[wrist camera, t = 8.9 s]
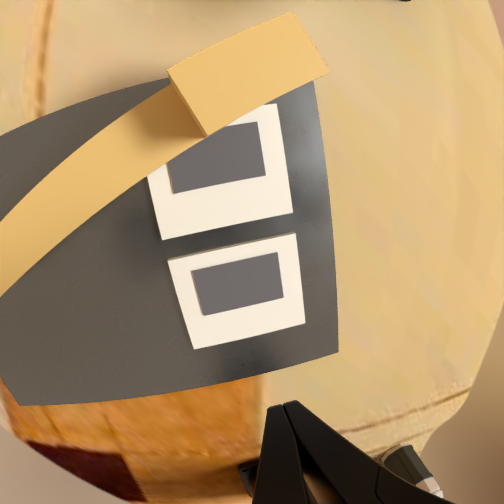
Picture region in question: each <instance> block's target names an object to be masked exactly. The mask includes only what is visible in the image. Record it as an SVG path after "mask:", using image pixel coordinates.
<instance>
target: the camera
mask: <svg viewBox="0 0 504 504" xmlns="http://www.w3.org/2000/svg"><path fill="white" fill-rule="evenodd" d="M381 459H382V463H383V466H384V467H385V468H387V469H388V470H390V471H391V472H393V473H394V474H396V475H397V476H399V477H400V478H402V479H404V480H405V481H407V482H409V483H411V484H413V485H415V486H417V487H419V488H421V489H423V490H425V491H427V492H429V493H432V494H434V495H436V496H438V497H441V498H443V495H444V493H443V492H442V491H441V490H440V487H439V486H438V484H437V483H436V482H435V480H434V478H433V475H432V474H431V473H429V471H428V470H427V468H426V467H425V466H424V464H423V462H422V461H421V459H420V458H419V457H418V455H417V454H416V452H415V451H414V449H413V446H412V445H410V444H409V442H408V443H402V444H399V445H397V446H395V447H394V448H392V449H390V450H389V451H387V452H386V453H385V455H384V456H383V457H382V458H381ZM439 490H440V491H439Z"/></svg>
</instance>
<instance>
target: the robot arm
mask: <svg viewBox="0 0 504 504" xmlns="http://www.w3.org/2000/svg"><path fill="white" fill-rule="evenodd" d="M238 471H239V474H240V476H241V478H242V481H243V483H244V485H245V487H246V489H247V492H248V494H249V496H250V497H252V499H253V500H252V504H455V503H452V502H450V501H448V500H445V499H443V498H441V497H438V496H436V495H434V494H432V493H429V492H427V491H425V490H423V489H421V488H419V487H417V486H415V485H413V484H411V483H409V482H407V481H405V480H404V479H402V478H400V477H399V476H397V475H396V474H394V473H393V472H391V471H390V470H388V469H387V468H385V467H384V466H382V465H381V466H380V464H379V463H378V462H377V461H375V460H374V459H372V458H371V457H370V456H368V455H367V454H366V453H364V452H363V451H361V450H360V449H359V448H357V447H356V446H355V445H353V444H352V443H351V442H349V441H348V440H347V439H345V438H344V437H343V436H341V435H340V434H339V433H337V432H336V431H335V430H334V429H332V428H331V427H330V426H328V425H327V424H326V423H325V422H323V421H322V420H321V419H320V418H318V417H317V416H316V415H315V414H313V413H312V412H311V411H310V410H308V409H307V408H306V407H305V406H303V405H302V404H301V403H300V402H298V401H297V400H293V401H290V402H286V403H284V404H283V406H282V405H281V404H279V405H275V406H271V407H269V408H268V409H267V415H266V422H265V428H264V435H263V441H262V447H261V454H260V460H259V461H256V462H251V463H246V464H242V465H240V466H238Z"/></svg>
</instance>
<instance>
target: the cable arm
mask: <svg viewBox="0 0 504 504" xmlns="http://www.w3.org/2000/svg"><path fill="white" fill-rule="evenodd" d="M167 72H168V76H169V79H170V82H171V84H170V85H168V86H167V87H165V88H163V89H162V90H160V91H159V92H157V93H155V94H154V95H152V96H151V97H149V98H148V99H146V100H144V101H143V102H141V103H140V104H138V105H137V106H135V107H134V108H132V109H131V110H129V111H128V112H127V113H125V114H124V115H122V116H121V117H119V118H118V119H117V120H115V121H114V122H112V123H111V124H110V125H108V126H107V127H106V128H104V129H103V130H102V131H100V132H99V133H98V134H96V135H95V136H94V137H92V138H91V139H90V140H89V141H87V142H86V143H85V144H83V145H82V146H81V147H80V148H78V149H77V150H76V151H75V152H74V153H72V154H71V155H70V156H69V157H68V158H66V159H65V160H64V161H63V162H62V163H61V164H59V165H58V166H57V167H56V168H55V169H54V170H53V171H51V172H50V173H49V174H48V175H47V176H46V177H45V178H44V179H43V180H42V181H41V182H39V183H38V184H37V185H36V186H35V187H34V188H33V189H32V190H31V191H30V192H29V193H28V194H27V195H26V196H25V197H24V198H23V199H22V200H21V201H20V202H19V203H18V204H17V205H16V206H15V207H14V208H13V209H12V210H11V211H10V212H9V213H8V214H7V215H6V216H5V217H4V219H3V220H2V221H1V222H0V297H1V296H2V295H3V294H4V293H5V292H6V291H7V290H8V289H9V288H10V287H11V286H12V285H13V284H14V283H15V282H16V281H17V280H18V279H19V278H20V277H22V276H23V275H24V274H25V273H26V272H27V271H28V270H29V269H30V268H31V267H32V266H33V265H35V264H36V263H37V262H38V261H39V260H40V259H41V258H42V257H43V256H45V255H46V254H47V253H48V252H49V251H50V250H52V249H53V248H54V247H55V246H56V245H57V244H59V243H60V242H61V241H62V240H63V239H64V238H66V237H67V236H68V235H69V234H70V233H72V232H73V231H74V230H75V229H77V228H78V227H79V226H80V225H82V224H83V223H84V222H85V221H87V220H88V219H89V218H90V217H92V216H93V215H94V214H96V213H97V212H98V211H99V210H101V209H102V208H103V207H105V206H106V205H107V204H109V203H110V202H111V201H113V200H114V199H115V198H117V197H118V196H119V195H121V194H122V193H124V192H125V191H126V190H128V189H129V188H130V187H132V186H133V185H135V184H136V183H138V182H139V181H140V180H142V179H143V178H145V177H146V176H148V175H149V174H151V173H152V172H153V171H155V170H156V169H158V168H159V167H161V166H162V165H164V164H165V163H167V162H168V161H170V160H172V159H173V158H175V157H176V156H178V155H179V154H181V153H182V152H184V151H186V150H187V149H189V148H190V147H192V146H194V145H195V144H197V143H198V142H200V141H202V140H203V139H205V138H207V137H208V136H210V135H212V134H213V133H215V132H217V131H218V130H220V129H222V128H224V127H225V126H227V125H228V124H230V123H232V122H233V121H235V120H236V119H238V118H240V117H242V116H243V115H245V114H247V113H249V112H251V111H253V110H254V109H256V108H258V107H260V106H262V105H264V104H266V103H268V102H270V101H272V100H274V99H275V98H277V97H279V96H281V95H283V94H285V93H287V92H289V91H291V90H294V89H296V88H298V87H300V86H302V85H304V84H306V83H308V82H310V81H312V80H315V79H317V78H319V77H321V76H323V75H326V74H328V73H330V71H329V69H328V67H327V66H326V64H325V62H324V60H323V59H322V57H321V55H320V54H319V52H318V50H317V49H316V47H315V45H314V44H313V42H312V41H311V39H310V37H309V36H308V34H307V33H306V31H305V29H304V28H303V26H302V25H301V23H300V22H299V20H298V19H297V17H296V16H295V14H294V13H293V11H292V12H289V13H286V14H283V15H281V16H278V17H275V18H273V19H270V20H268V21H265V22H263V23H260V24H258V25H255V26H253V27H250V28H248V29H246V30H244V31H241V32H239V33H237V34H235V35H232V36H230V37H228V38H226V39H224V40H222V41H220V42H217V43H215V44H213V45H211V46H209V47H207V48H205V49H203V50H202V51H200V52H198V53H196V54H194V55H192V56H190V57H188V58H186V59H185V60H183V61H181V62H179V63H177V64H176V65H174V66H172V67H170V68H169V69H167Z"/></svg>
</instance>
